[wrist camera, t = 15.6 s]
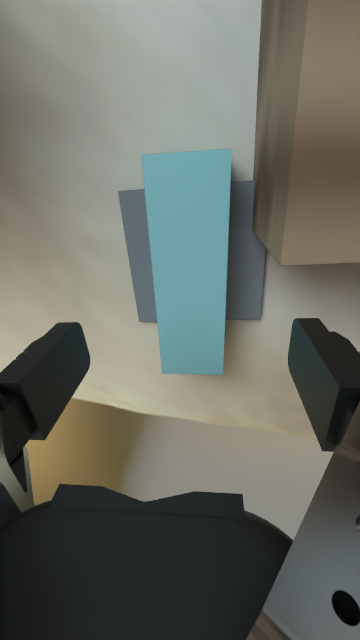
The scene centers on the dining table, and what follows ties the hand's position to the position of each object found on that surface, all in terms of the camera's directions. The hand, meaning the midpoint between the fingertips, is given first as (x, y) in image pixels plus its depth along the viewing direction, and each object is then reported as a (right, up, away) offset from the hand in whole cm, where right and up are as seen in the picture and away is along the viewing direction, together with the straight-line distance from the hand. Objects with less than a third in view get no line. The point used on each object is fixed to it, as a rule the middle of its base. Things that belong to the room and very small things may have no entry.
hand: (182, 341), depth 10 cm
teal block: (+1, +5, +10) cm, 11 cm away
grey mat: (+1, +6, +10) cm, 12 cm away
